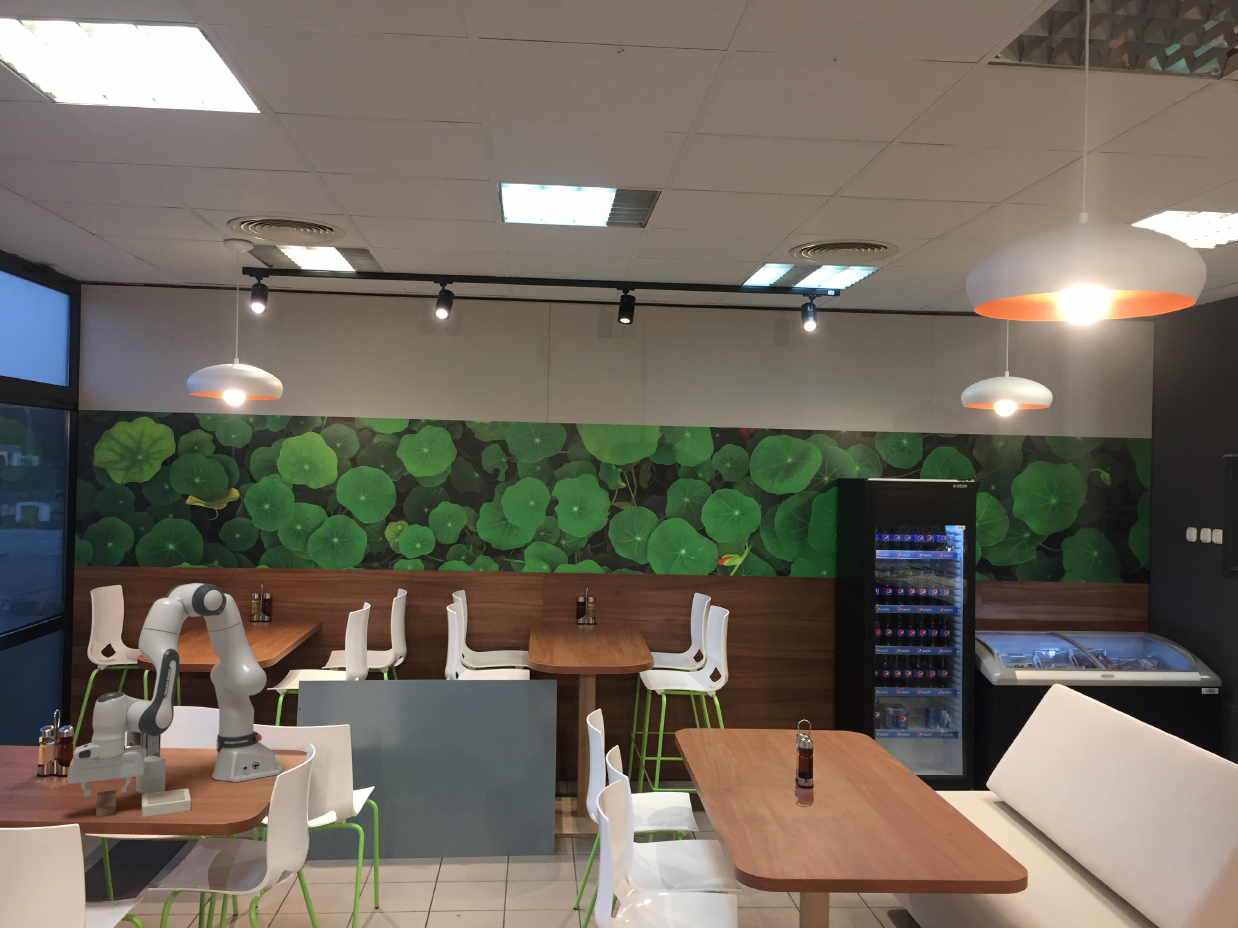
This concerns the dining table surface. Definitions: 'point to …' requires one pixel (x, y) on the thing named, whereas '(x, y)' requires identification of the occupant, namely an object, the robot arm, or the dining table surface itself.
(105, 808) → the walnut block
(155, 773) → the small box
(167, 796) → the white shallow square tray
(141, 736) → the coffee box
